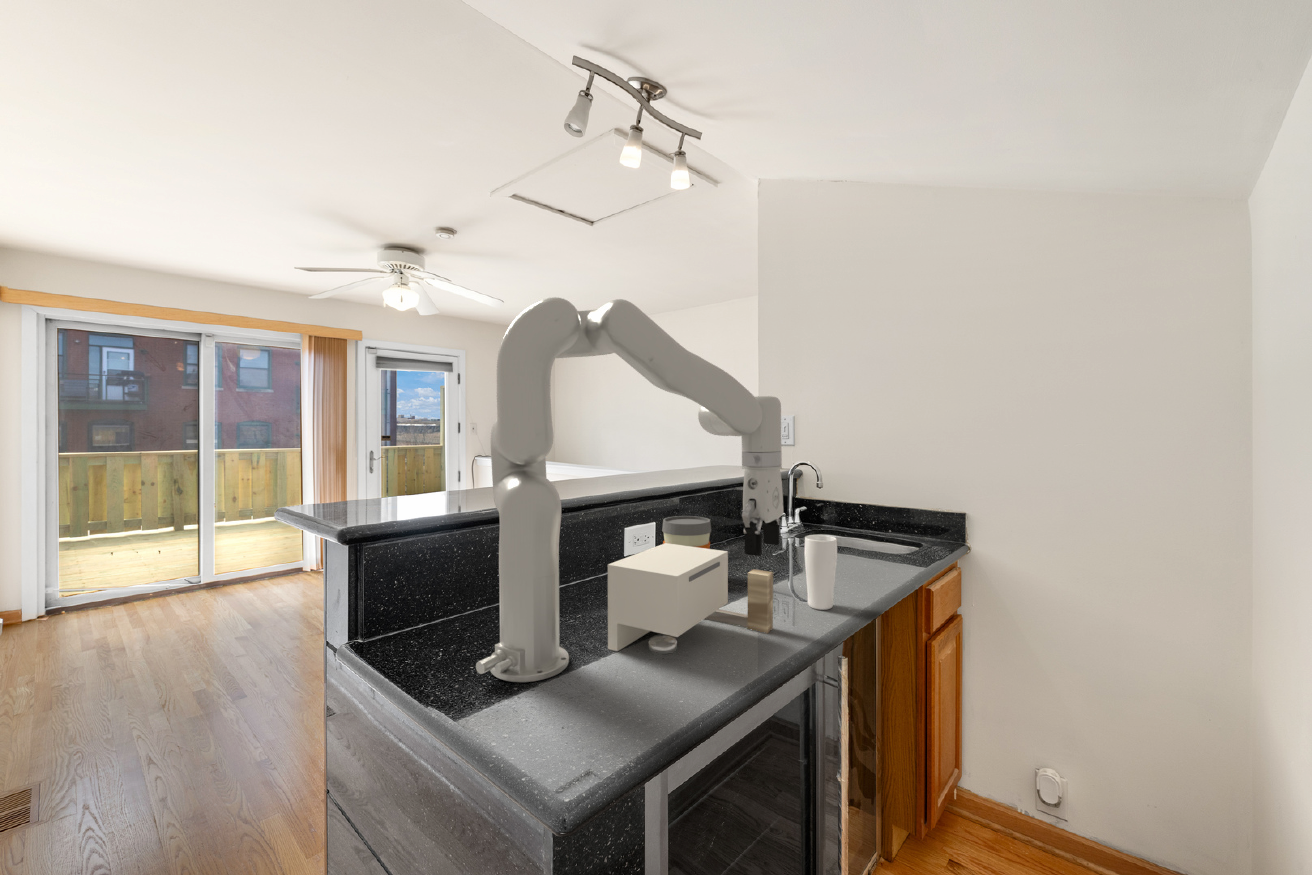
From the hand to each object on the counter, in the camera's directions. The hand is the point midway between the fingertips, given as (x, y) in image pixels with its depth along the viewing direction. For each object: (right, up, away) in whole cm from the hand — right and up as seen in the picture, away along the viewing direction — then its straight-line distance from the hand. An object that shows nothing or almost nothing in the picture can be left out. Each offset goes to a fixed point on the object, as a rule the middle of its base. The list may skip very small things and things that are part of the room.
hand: (762, 549), depth 106 cm
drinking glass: (+15, -15, +13) cm, 25 cm away
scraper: (-6, -15, +4) cm, 17 cm away
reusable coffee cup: (-13, -15, +35) cm, 40 cm away
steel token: (-19, -16, -9) cm, 27 cm away
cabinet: (-18, -16, -4) cm, 24 cm away
